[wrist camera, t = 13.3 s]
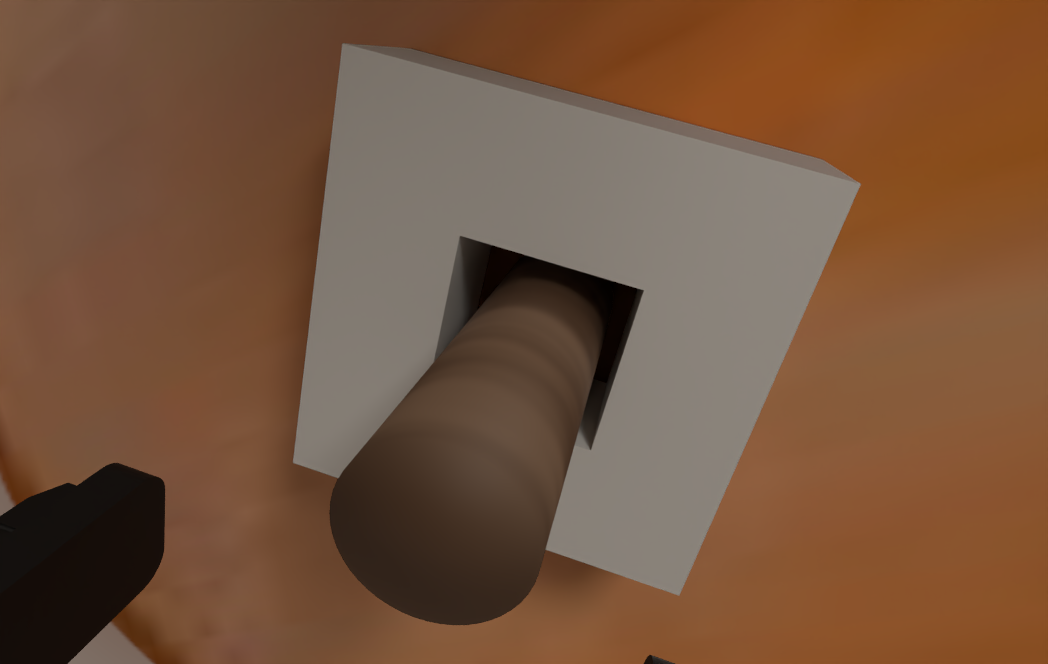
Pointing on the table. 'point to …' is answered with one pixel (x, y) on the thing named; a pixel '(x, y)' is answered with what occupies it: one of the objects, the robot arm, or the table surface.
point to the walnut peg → (477, 453)
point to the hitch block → (574, 242)
